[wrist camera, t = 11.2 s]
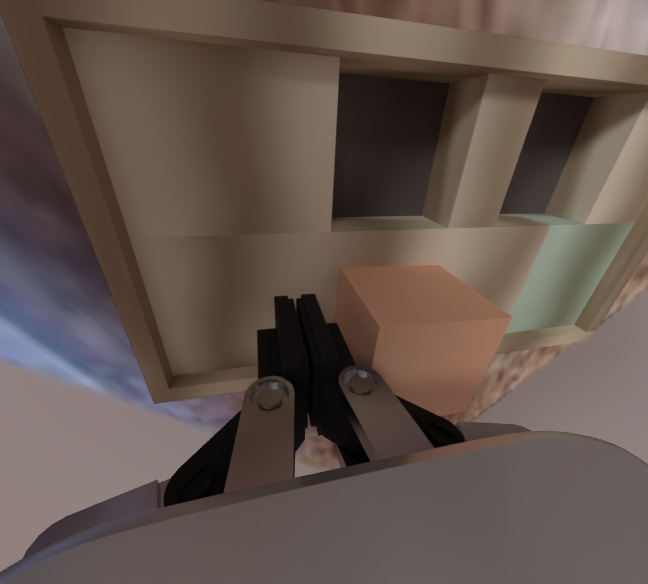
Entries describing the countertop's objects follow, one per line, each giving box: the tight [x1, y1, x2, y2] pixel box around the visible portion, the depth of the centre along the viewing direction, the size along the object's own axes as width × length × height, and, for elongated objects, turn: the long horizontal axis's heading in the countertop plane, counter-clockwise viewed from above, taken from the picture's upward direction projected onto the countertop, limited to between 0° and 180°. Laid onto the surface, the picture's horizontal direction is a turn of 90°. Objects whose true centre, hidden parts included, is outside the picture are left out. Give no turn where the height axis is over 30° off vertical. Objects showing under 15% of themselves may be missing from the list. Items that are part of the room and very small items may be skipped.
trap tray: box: [0, 0, 648, 404], centre depth 13 cm, size 26×14×3 cm, turn 88°
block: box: [334, 265, 512, 416], centre depth 12 cm, size 5×5×4 cm
